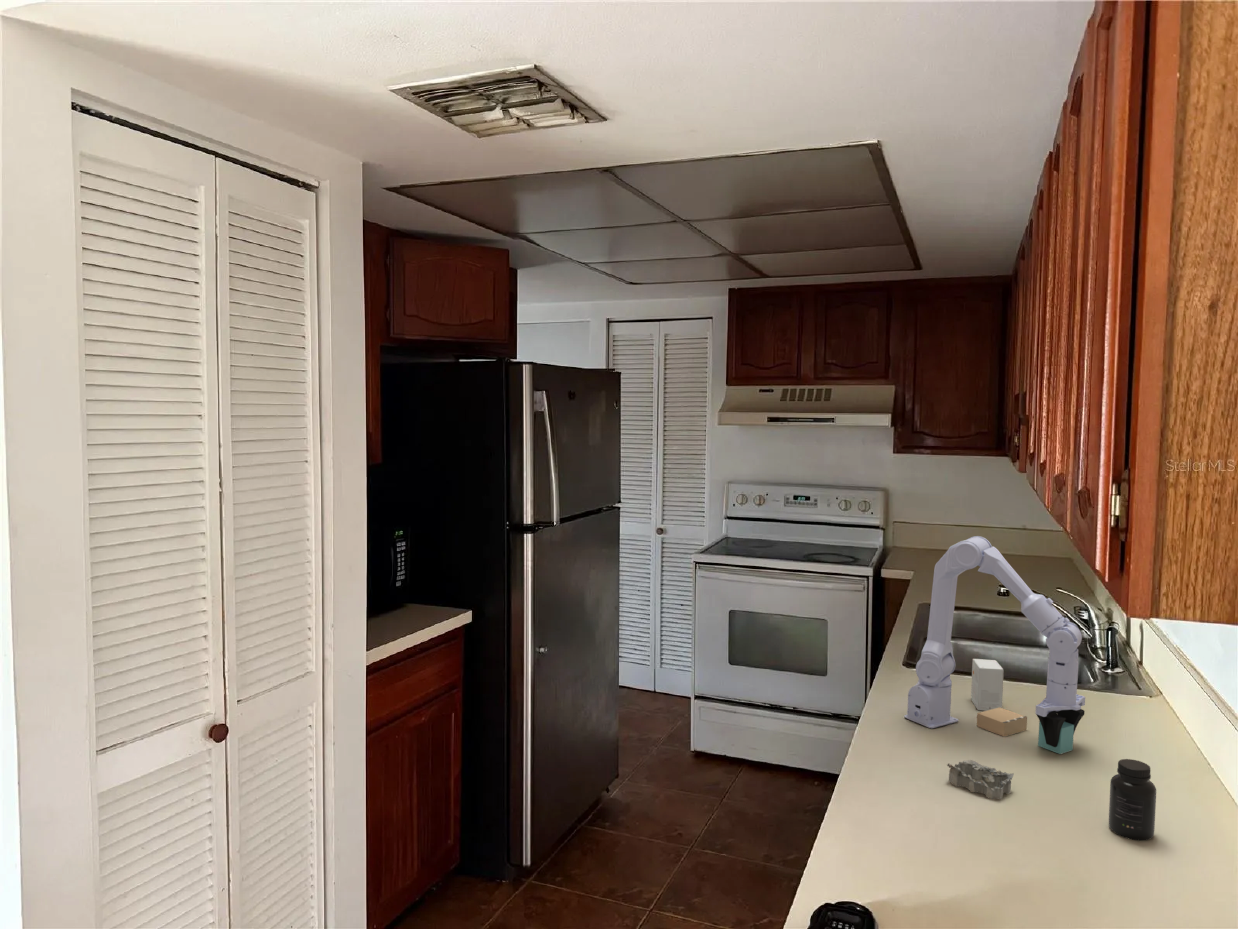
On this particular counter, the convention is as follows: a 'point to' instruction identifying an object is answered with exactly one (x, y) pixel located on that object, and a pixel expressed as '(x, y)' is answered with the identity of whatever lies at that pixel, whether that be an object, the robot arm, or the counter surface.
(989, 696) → the small box
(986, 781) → the egg carton
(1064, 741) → the teal box
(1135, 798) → the supplement bottle
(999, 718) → the taped cardboard box
